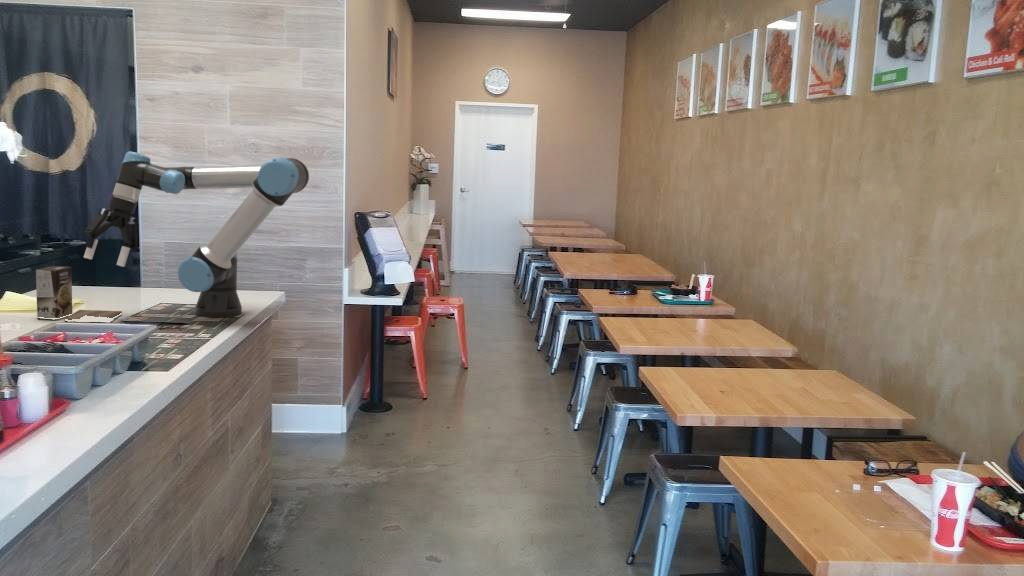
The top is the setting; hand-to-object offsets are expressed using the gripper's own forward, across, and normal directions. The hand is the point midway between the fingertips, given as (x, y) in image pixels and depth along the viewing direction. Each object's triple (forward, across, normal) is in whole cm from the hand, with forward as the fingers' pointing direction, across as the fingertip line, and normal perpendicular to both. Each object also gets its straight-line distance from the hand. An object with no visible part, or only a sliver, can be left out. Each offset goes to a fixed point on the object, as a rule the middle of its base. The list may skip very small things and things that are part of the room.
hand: (104, 262), depth 243 cm
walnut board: (+18, -4, -1) cm, 19 cm away
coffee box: (+21, +1, -11) cm, 24 cm away
